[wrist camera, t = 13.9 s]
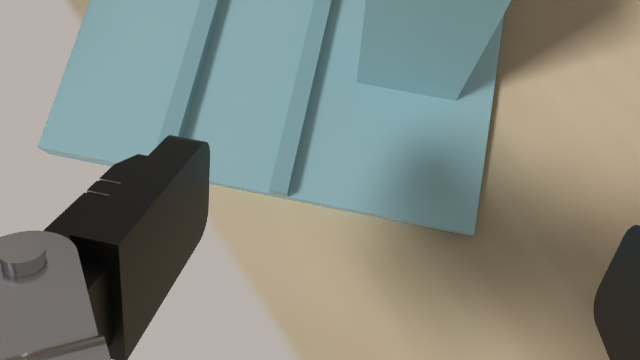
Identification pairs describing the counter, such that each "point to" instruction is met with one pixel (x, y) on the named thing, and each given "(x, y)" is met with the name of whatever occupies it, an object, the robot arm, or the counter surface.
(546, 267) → the counter surface
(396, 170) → the lid
